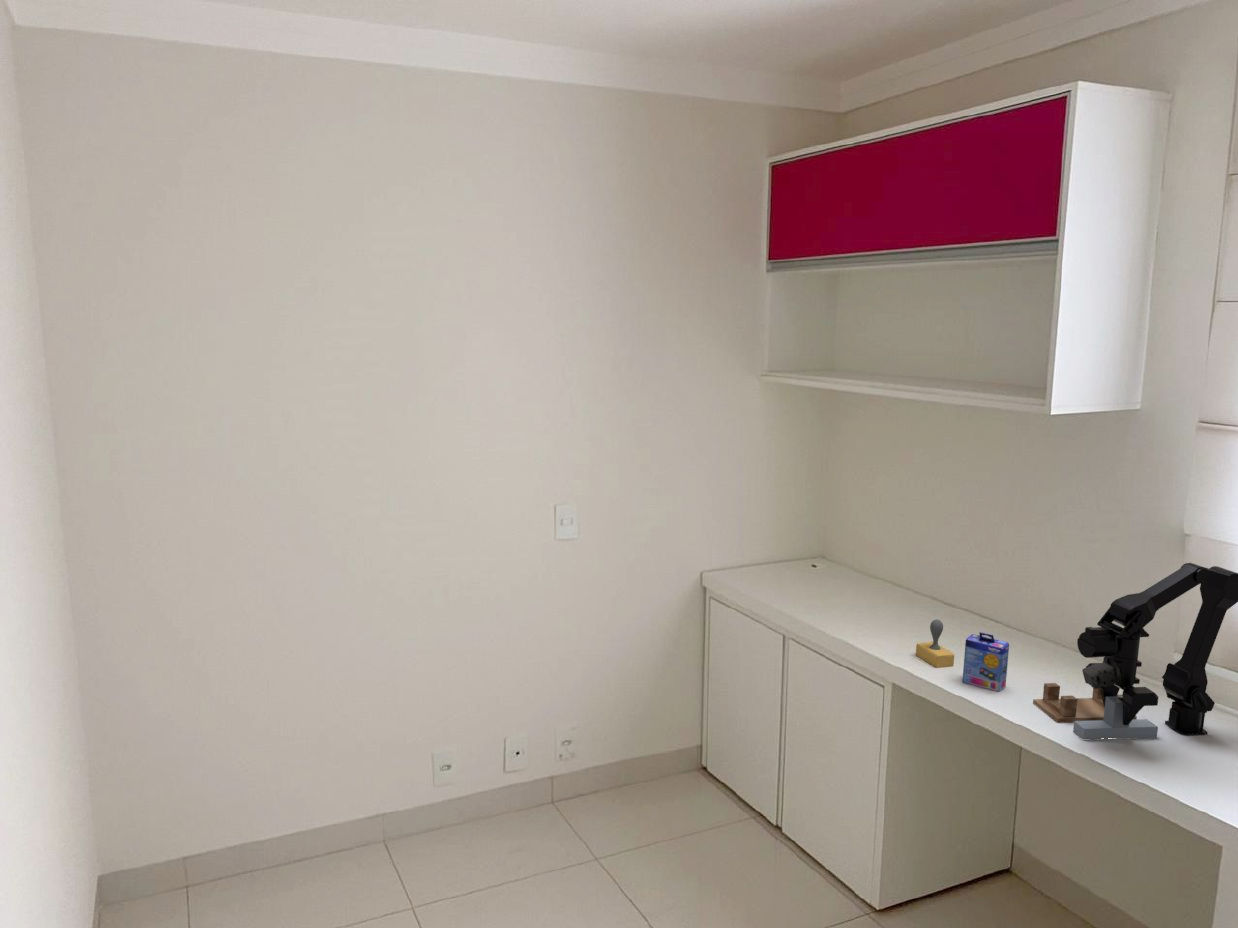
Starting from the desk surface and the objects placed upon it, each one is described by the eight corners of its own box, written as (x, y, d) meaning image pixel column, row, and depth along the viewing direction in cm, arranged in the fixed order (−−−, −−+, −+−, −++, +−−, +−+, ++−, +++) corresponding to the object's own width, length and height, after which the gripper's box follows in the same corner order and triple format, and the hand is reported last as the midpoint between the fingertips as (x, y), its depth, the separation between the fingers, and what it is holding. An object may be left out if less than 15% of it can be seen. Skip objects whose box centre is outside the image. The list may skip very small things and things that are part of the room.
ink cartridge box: (960, 682, 244) (965, 630, 242) (968, 676, 248) (972, 624, 246) (999, 692, 238) (1004, 639, 236) (1006, 686, 242) (1011, 633, 240)
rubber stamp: (914, 655, 263) (917, 614, 261) (932, 653, 265) (935, 613, 263) (936, 668, 254) (939, 626, 252) (954, 666, 255) (957, 624, 253)
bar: (1145, 730, 218) (1149, 694, 216) (1156, 738, 214) (1161, 702, 213) (1072, 733, 216) (1076, 696, 215) (1082, 740, 212) (1086, 704, 211)
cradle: (1108, 701, 234) (1111, 680, 233) (1136, 720, 223) (1138, 698, 222) (1032, 702, 232) (1034, 682, 231) (1057, 722, 221) (1059, 700, 220)
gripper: (1067, 640, 220) (1061, 702, 223) (1115, 671, 202) (1107, 737, 205) (1111, 639, 221) (1105, 701, 224) (1163, 670, 203) (1155, 736, 206)
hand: (1116, 718), depth 214 cm, fingers open, 6 cm apart
